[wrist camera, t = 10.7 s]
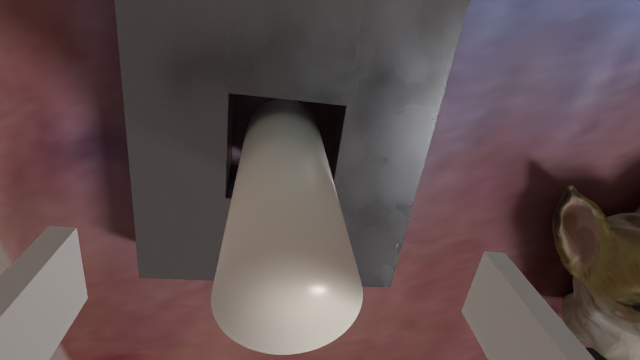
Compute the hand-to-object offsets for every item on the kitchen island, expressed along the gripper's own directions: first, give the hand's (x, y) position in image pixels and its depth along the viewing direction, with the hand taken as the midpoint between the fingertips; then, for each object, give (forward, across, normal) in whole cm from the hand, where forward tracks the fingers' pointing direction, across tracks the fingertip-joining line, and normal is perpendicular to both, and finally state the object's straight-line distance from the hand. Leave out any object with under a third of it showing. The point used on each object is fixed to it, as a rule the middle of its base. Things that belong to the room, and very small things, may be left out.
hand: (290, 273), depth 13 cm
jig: (+12, 0, 0) cm, 12 cm away
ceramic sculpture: (+13, -25, +6) cm, 29 cm away
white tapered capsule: (+12, 0, 0) cm, 12 cm away
